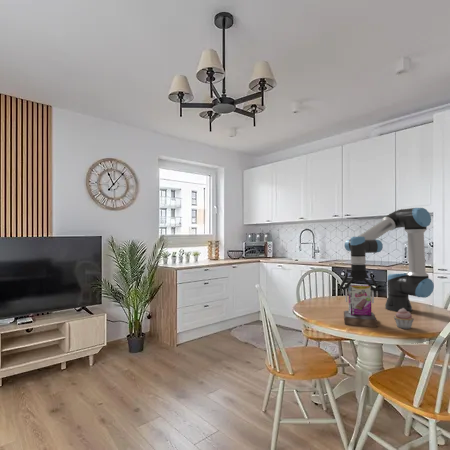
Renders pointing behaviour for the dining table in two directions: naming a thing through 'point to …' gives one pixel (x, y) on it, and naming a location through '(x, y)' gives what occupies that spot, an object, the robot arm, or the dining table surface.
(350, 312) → the candy bar box
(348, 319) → the podium
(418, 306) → the dining table surface
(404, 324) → the cupcake
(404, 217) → the robot arm
